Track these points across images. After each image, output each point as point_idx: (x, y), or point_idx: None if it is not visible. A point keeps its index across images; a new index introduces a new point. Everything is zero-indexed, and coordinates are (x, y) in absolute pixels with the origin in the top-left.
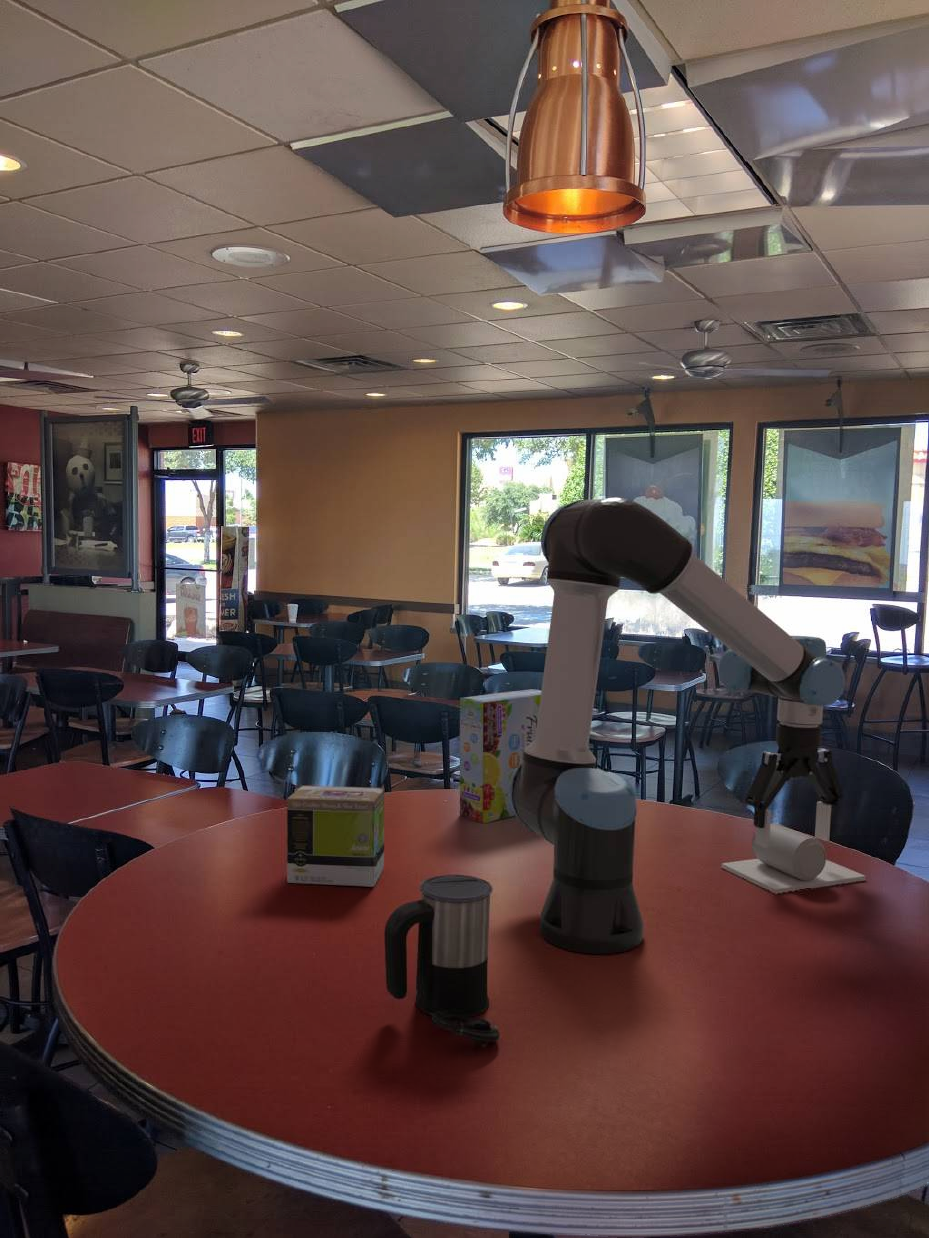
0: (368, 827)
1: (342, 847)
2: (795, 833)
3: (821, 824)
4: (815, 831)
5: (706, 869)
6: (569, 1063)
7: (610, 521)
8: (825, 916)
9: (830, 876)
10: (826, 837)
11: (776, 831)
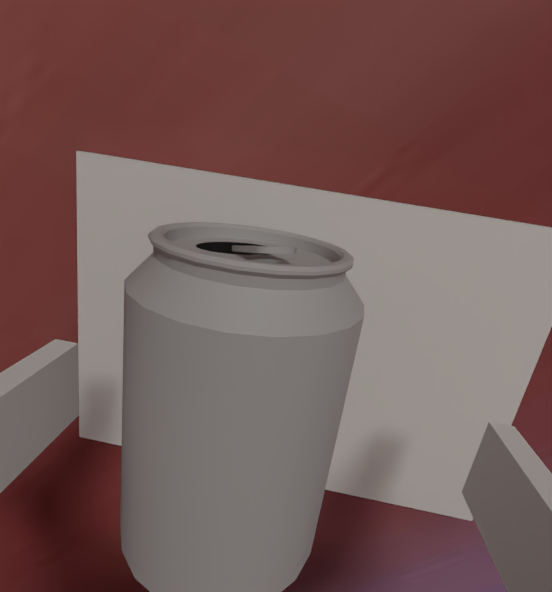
0: None
1: None
2: (189, 529)
3: (515, 538)
4: (504, 445)
5: (19, 135)
6: None
7: None
8: (100, 570)
9: (351, 464)
10: (471, 510)
11: (151, 418)
